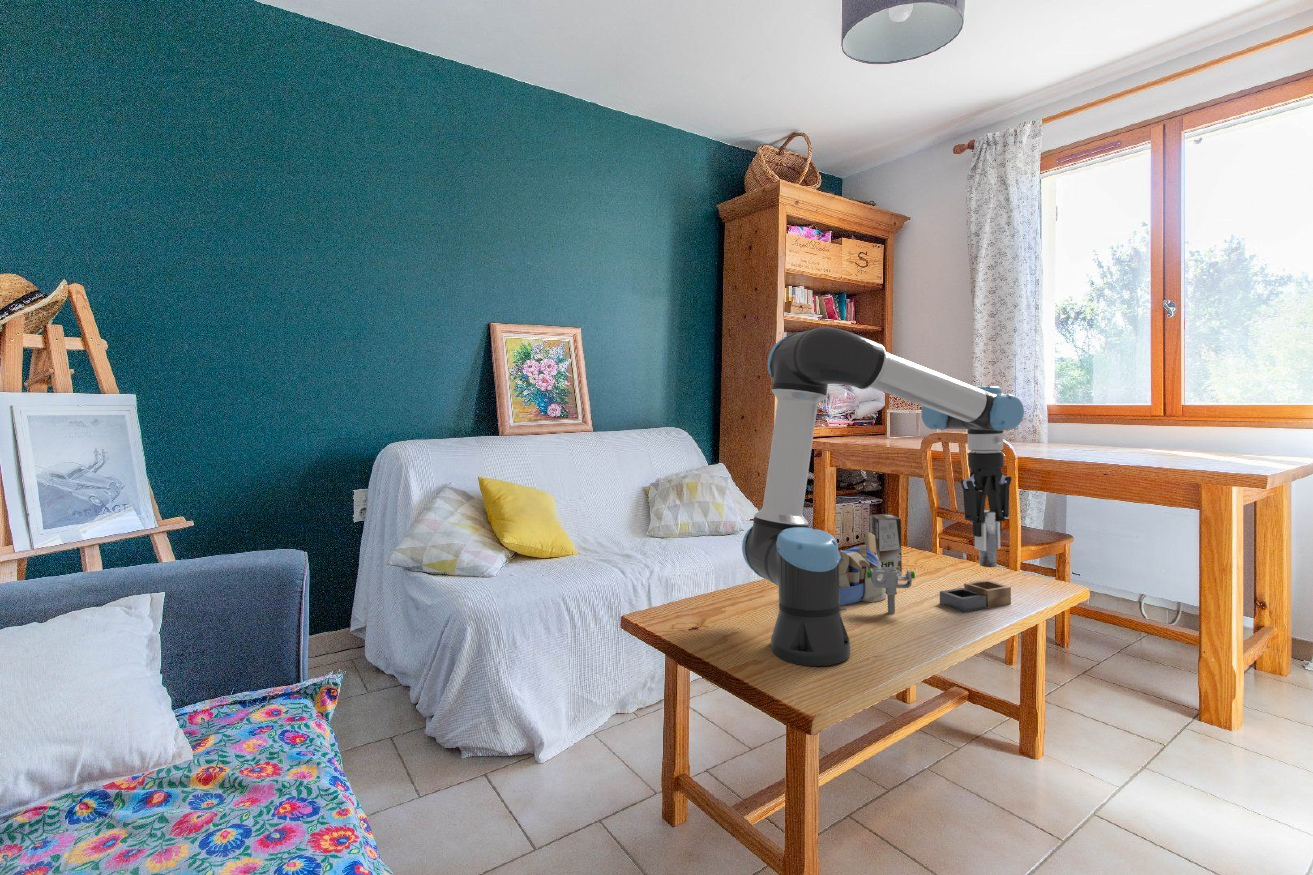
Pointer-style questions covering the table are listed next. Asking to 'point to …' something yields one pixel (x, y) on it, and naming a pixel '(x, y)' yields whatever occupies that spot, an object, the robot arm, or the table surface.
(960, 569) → the table surface
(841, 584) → the toy tool belt
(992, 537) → the dome-ended metal rod
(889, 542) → the grey printed carton
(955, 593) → the socket
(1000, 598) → the open square brown box
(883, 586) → the mechanical component
